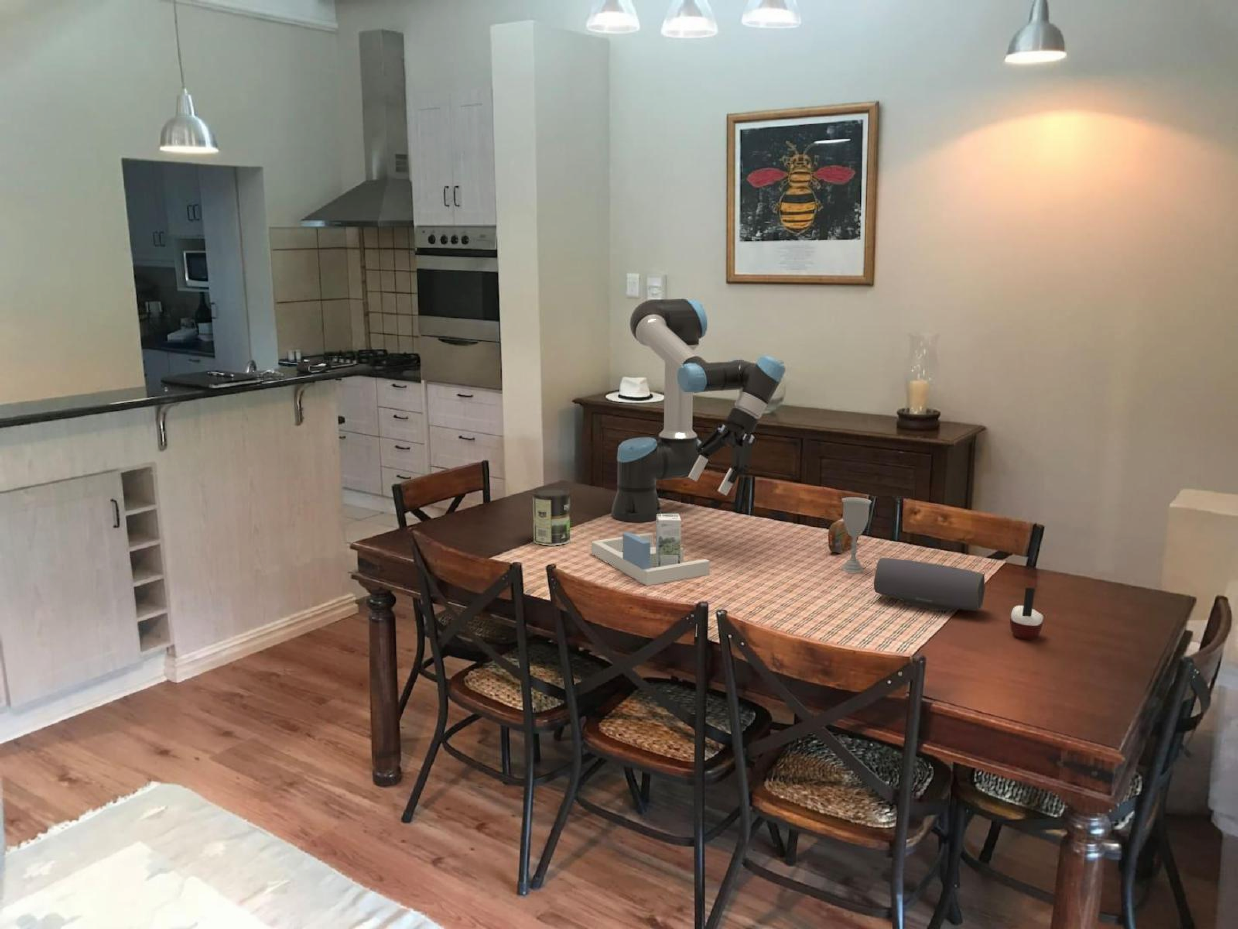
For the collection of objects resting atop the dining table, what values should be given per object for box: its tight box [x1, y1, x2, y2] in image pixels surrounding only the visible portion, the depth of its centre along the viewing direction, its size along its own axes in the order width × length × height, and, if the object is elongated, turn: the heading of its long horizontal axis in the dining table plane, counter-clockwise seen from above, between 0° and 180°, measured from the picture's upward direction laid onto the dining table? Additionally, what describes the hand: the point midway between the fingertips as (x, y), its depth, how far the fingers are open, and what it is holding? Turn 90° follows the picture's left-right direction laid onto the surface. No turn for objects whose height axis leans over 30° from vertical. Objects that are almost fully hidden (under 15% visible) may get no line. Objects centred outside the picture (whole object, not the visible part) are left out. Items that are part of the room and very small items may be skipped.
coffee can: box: [532, 487, 571, 547], centre depth 272 cm, size 10×10×14 cm
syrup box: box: [655, 513, 682, 567], centre depth 246 cm, size 6×6×14 cm
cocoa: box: [1009, 587, 1044, 641], centre depth 205 cm, size 10×6×12 cm, turn 137°
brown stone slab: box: [827, 517, 859, 554], centre depth 266 cm, size 15×3×8 cm, turn 143°
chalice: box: [841, 496, 872, 574], centre depth 248 cm, size 7×7×18 cm
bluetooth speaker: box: [873, 557, 986, 612], centre depth 223 cm, size 23×9×10 cm, turn 59°
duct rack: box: [590, 531, 711, 587], centre depth 252 cm, size 29×18×10 cm, turn 29°
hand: (706, 486), depth 253 cm, fingers open, 13 cm apart
